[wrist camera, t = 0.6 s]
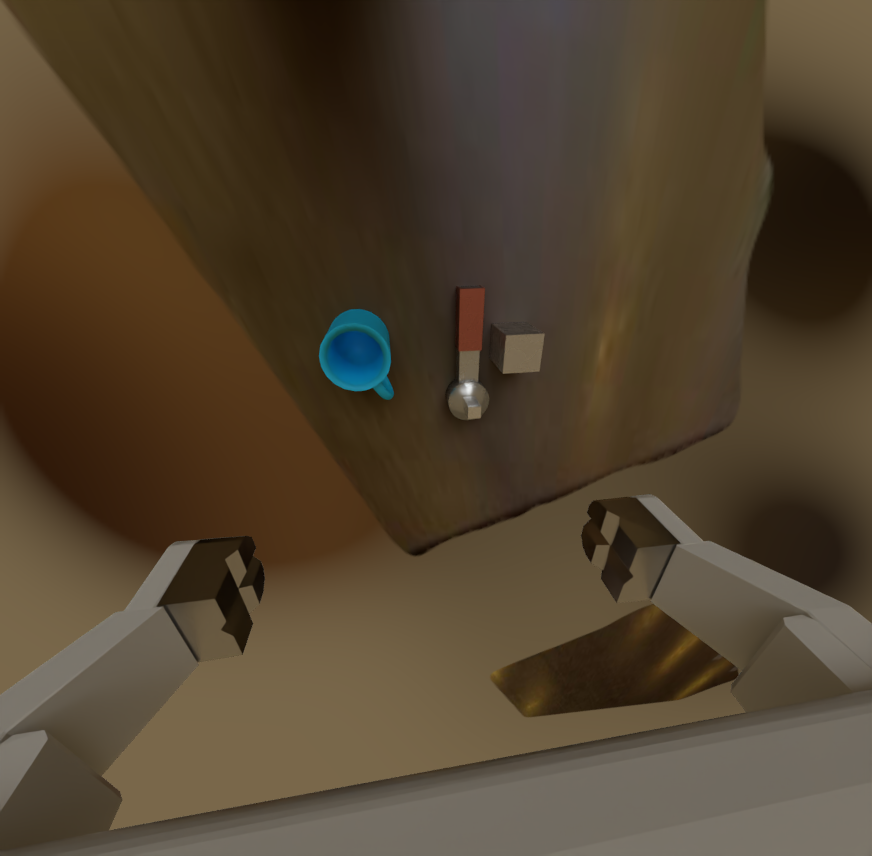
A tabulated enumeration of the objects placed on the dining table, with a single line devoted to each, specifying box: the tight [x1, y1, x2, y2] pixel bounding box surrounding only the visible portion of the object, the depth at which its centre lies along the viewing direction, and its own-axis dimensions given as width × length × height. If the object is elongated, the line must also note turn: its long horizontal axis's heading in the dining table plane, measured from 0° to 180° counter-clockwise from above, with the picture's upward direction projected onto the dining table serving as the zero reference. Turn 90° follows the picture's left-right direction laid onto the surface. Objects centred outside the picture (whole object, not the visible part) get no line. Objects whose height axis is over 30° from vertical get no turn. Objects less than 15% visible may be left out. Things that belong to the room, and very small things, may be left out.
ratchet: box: [446, 286, 489, 420], centre depth 48 cm, size 18×6×6 cm, turn 1°
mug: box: [319, 309, 394, 400], centre depth 45 cm, size 12×8×8 cm
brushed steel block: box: [489, 322, 545, 374], centre depth 47 cm, size 5×5×6 cm
